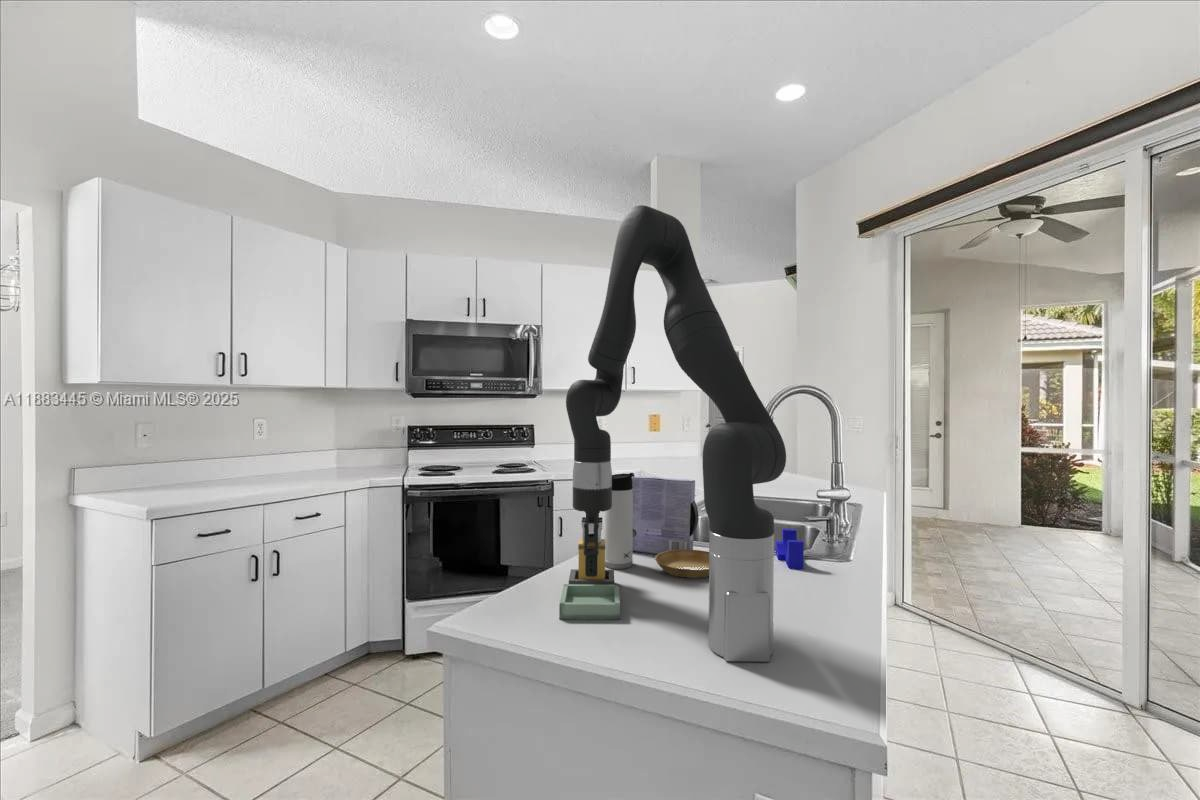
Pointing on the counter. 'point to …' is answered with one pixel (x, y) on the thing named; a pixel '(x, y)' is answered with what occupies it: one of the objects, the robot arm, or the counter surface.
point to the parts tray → (590, 602)
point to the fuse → (599, 560)
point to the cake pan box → (663, 514)
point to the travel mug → (619, 524)
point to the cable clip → (790, 549)
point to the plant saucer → (684, 562)
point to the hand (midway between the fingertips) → (591, 569)
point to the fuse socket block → (575, 579)
